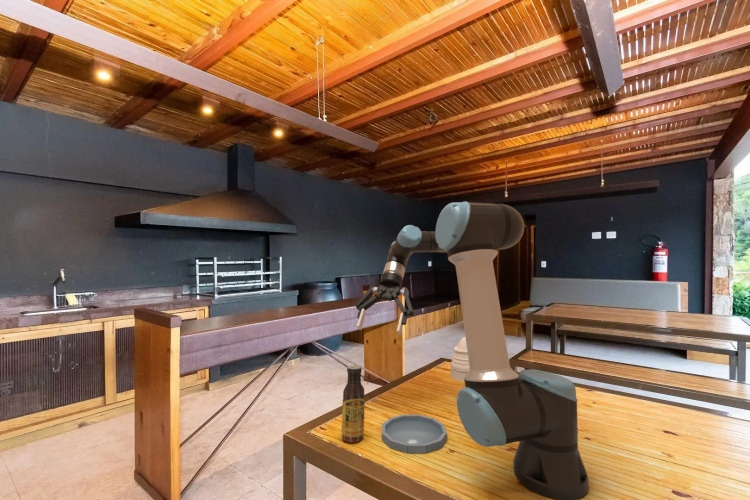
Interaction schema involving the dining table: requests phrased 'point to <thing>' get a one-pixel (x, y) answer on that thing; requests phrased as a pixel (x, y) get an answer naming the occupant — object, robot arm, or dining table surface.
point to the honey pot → (460, 361)
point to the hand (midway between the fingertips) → (378, 330)
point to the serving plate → (414, 434)
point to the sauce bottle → (353, 406)
